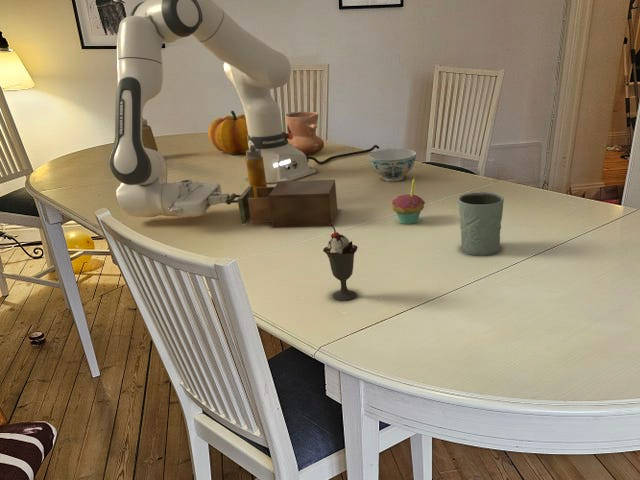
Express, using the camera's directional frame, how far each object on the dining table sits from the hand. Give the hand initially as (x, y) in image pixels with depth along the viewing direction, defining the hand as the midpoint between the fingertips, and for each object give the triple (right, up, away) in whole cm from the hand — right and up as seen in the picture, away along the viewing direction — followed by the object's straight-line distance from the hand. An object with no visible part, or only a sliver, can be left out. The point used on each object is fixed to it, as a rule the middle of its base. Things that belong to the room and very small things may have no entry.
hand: (228, 198), depth 174 cm
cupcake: (+48, -8, -4) cm, 49 cm away
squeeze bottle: (-48, +33, +74) cm, 94 cm away
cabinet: (+21, -5, +2) cm, 21 cm away
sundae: (+34, -31, -43) cm, 63 cm away
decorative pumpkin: (-15, +38, +79) cm, 89 cm away
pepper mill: (+6, +1, +13) cm, 14 cm away
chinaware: (+45, +14, +34) cm, 58 cm away
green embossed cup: (+64, -18, -24) cm, 71 cm away
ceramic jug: (+12, +35, +72) cm, 80 cm away
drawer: (+10, -5, +2) cm, 11 cm away
